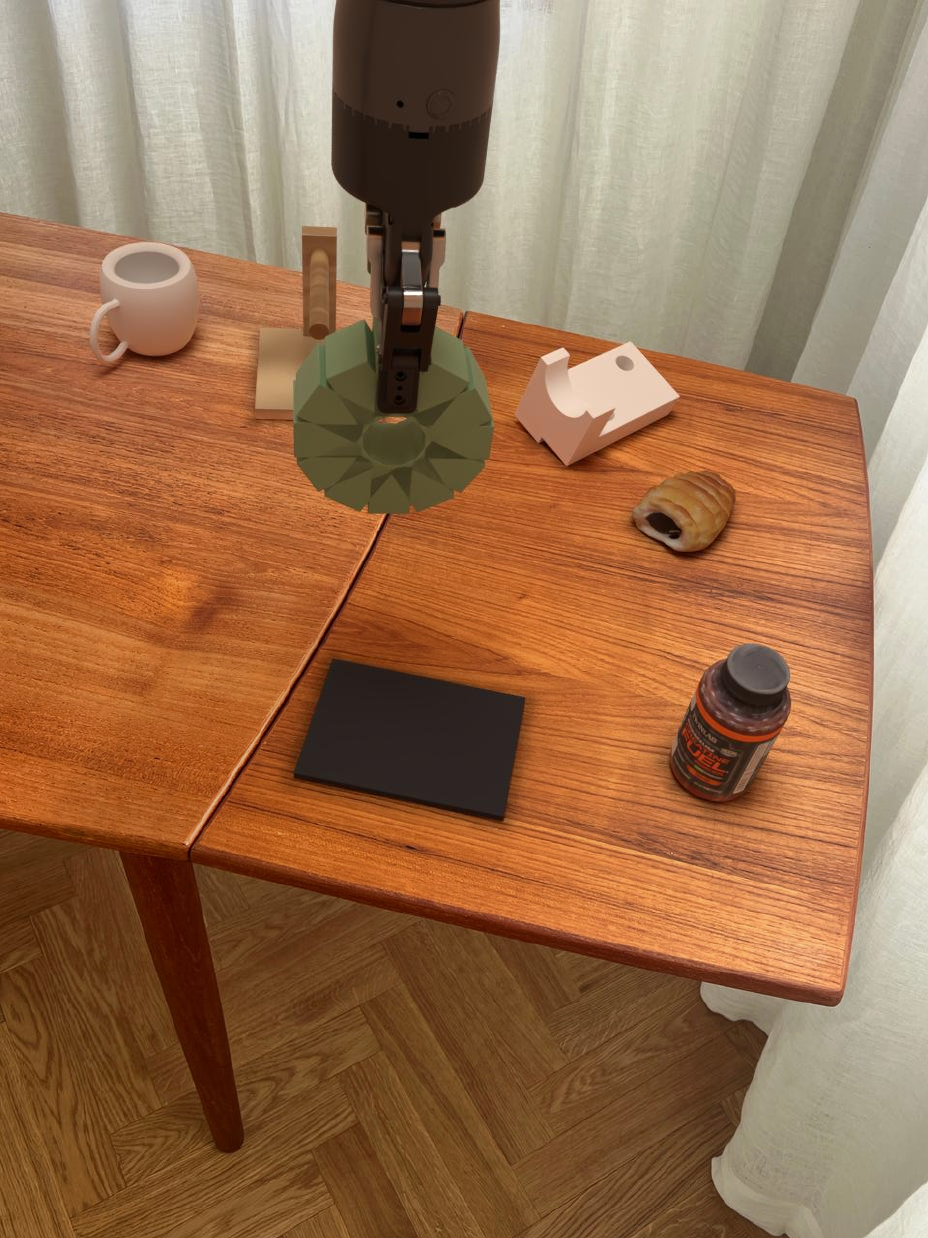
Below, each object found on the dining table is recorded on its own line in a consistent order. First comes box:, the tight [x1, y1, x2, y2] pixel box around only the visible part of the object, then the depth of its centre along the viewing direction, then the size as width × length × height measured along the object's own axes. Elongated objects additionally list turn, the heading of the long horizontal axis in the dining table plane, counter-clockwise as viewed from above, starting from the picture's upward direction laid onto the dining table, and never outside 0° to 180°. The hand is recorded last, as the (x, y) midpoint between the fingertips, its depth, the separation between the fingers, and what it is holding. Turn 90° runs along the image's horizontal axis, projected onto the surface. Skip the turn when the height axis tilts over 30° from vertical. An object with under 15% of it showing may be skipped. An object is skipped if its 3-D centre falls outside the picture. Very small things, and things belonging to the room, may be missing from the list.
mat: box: [293, 657, 526, 822], centre depth 76 cm, size 14×10×1 cm
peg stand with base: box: [254, 225, 383, 423], centre depth 97 cm, size 13×11×12 cm
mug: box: [88, 241, 200, 365], centre depth 99 cm, size 12×8×8 cm
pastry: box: [632, 470, 737, 553], centre depth 92 cm, size 9×7×4 cm
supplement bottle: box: [669, 642, 792, 803], centre depth 72 cm, size 6×6×11 cm
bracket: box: [513, 340, 681, 467], centre depth 98 cm, size 13×7×8 cm, turn 130°
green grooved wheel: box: [292, 316, 495, 515], centre depth 66 cm, size 4×12×12 cm, turn 96°
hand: (394, 383), depth 64 cm, fingers closed on green grooved wheel, 4 cm apart
